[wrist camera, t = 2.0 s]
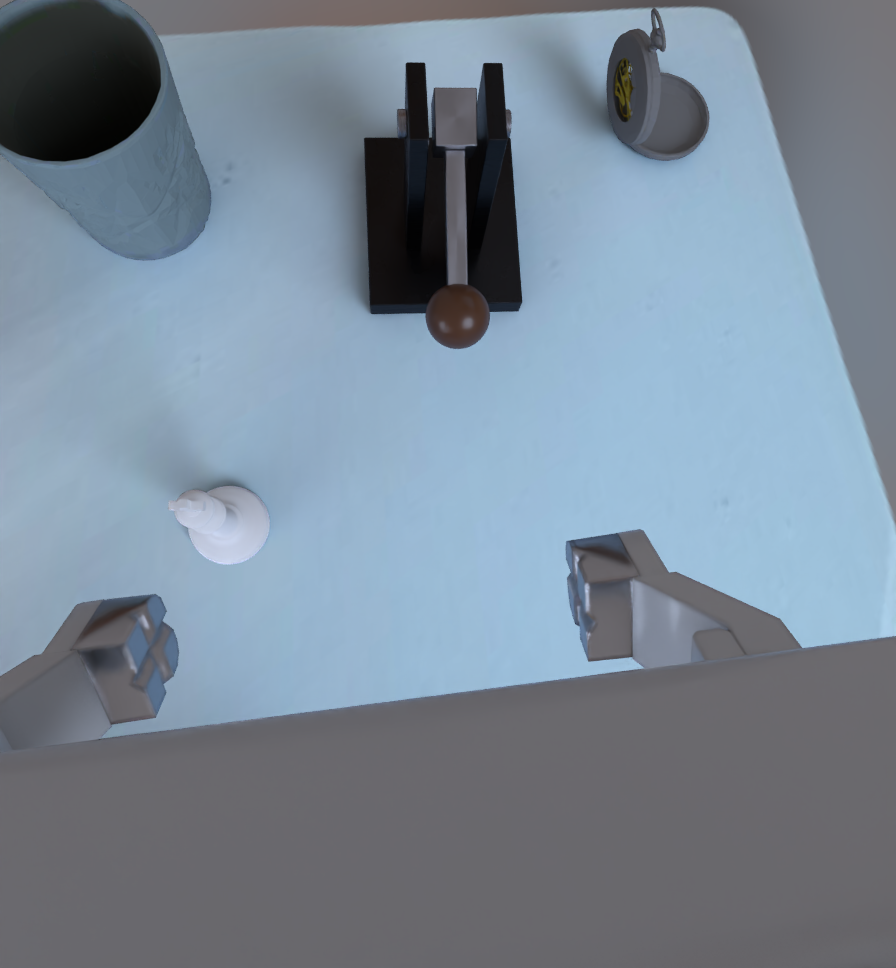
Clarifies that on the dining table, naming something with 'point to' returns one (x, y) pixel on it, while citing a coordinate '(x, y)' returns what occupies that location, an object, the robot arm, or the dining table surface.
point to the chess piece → (223, 522)
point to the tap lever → (456, 221)
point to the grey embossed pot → (101, 123)
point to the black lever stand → (441, 205)
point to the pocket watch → (652, 99)
